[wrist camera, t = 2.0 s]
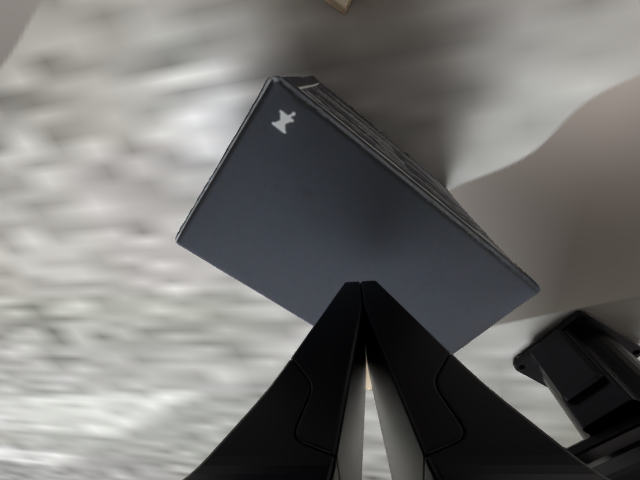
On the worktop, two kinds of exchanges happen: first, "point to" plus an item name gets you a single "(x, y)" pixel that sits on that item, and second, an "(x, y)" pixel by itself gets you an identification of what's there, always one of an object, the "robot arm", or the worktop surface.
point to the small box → (345, 219)
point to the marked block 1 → (340, 5)
